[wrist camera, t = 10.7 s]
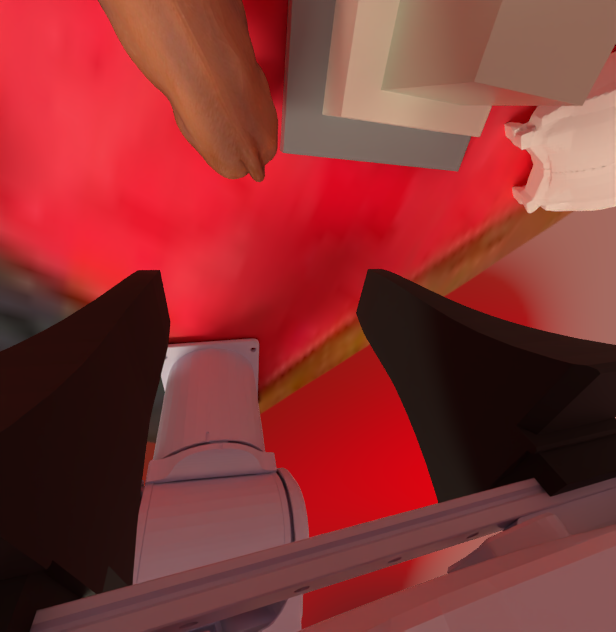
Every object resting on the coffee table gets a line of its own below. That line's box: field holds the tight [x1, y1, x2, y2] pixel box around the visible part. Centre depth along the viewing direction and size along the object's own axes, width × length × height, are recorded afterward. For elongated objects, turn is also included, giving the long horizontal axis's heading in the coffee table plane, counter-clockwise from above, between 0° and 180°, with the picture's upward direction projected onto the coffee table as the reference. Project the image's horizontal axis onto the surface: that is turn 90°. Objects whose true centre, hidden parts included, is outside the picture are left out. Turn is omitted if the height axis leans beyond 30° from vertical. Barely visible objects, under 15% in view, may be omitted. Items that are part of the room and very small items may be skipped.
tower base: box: [280, 0, 492, 171], centre depth 13 cm, size 13×12×4 cm
